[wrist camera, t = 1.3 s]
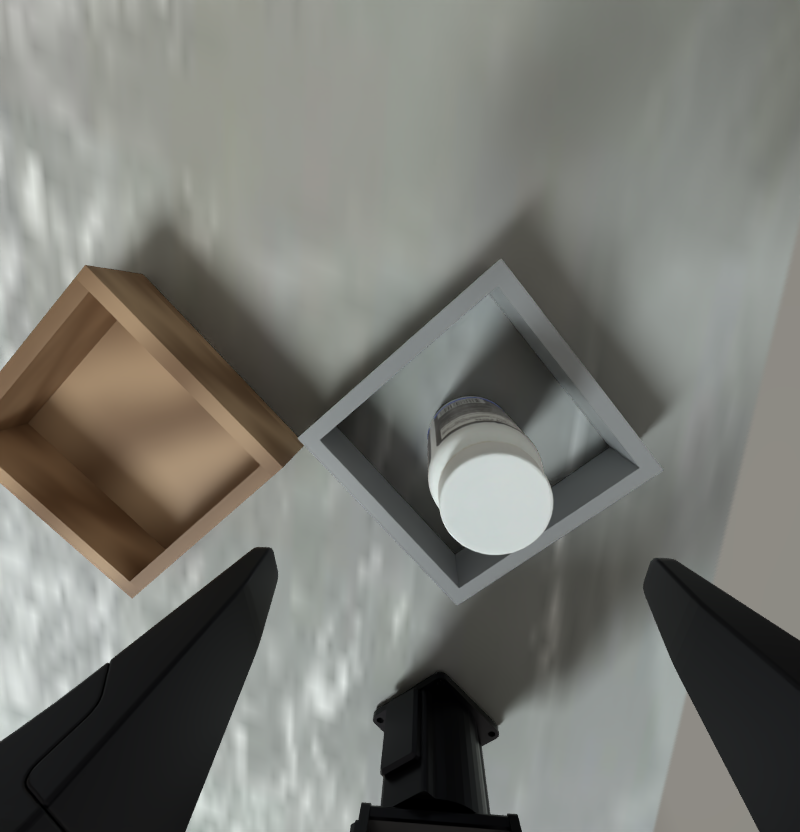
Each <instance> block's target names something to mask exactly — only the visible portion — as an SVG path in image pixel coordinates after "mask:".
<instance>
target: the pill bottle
mask: <svg viewBox="0 0 800 832" xmlns="http://www.w3.org/2000/svg"><path fill="white" fill-rule="evenodd" d="M427 445H428V483H429V488H430V492H431V494H432V497H433V499H434V501H435V503H436V505H437V506H438V508H439V509H440V515H441V518H442V521H443V523H444V525H445V527H446V529H447V530H448V532H449V533H450V535H451V536H452V537H453V538H454V539H455V540H456V541H458V542H459V543H460V544H462V545H463V546H465V547H467V548H468V549H471V550H473V551H475V552H479V553H482V554H489V555H502V554H509V553H513V552H516V551H518V550H521V549H523V548H525V547H527V546H528V545H530V544H531V543H532V542H534V541H535V540H536V539H537V538H538V537H539V536H540V535H541V534H542V533H543V532H544V530H545V529H546V527H547V525H548V523H549V521H550V519H551V516H552V511H553V493H552V489H551V485H550V483H549V481H548V479H547V477H546V476H545V474H544V469H543V464H542V461H541V457H540V455H539V453H538V450H537V449H536V447H535V445H534V444H533V443H532V442H531V440H530V439H529V438H528V437H527V436H526V435H525V434H524V433H523V432H522V431H521V430H520V428H519V427H518V426H517V425H516V424H515V423H514V421H513V420H512V419H511V418H510V417H509V416H508V415H507V414H506V413H505V412H504V410H503V409H502V408H501V407H499V406H498V405H497V404H496V403H494V402H492V401H490V400H488V399H485V398H482V397H476V396H466V397H460V398H457V399H454V400H452V401H450V402H448V403H447V404H445V405H444V406H443V407H442V408H441V409H440V410H439V411H438V412H437V413H436V414H435V416H434V418H433V419H432V421H431V423H430V426H429V430H428V438H427Z"/></svg>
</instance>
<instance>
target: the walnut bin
mask: <svg viewBox="0 0 800 832" xmlns="http://www.w3.org/2000/svg"><path fill="white" fill-rule="evenodd" d="M297 438H298V437H297V436H296V435H295V433H294V432H293V431H292V430H291V429H290V428H289V427H288V426H287V425H286V424H285V423H284V422H283V421H282V420H281V419H280V418H279V417H278V416H277V415H276V414H275V412H274V411H273V410H272V409H271V408H270V407H269V406H268V405H267V404H266V403H265V402H264V401H263V400H262V399H261V398H260V397H259V396H258V395H257V394H256V393H255V391H254V390H253V389H252V388H251V387H250V386H249V385H248V384H247V383H246V382H245V381H244V380H243V379H242V378H241V377H240V376H239V375H238V374H237V373H236V372H235V370H234V369H233V368H232V367H231V366H230V365H229V364H228V363H227V362H226V361H225V360H224V359H223V358H222V357H221V356H220V355H219V354H218V353H217V352H216V351H215V349H214V348H213V347H212V346H211V345H210V344H209V343H208V342H207V341H206V340H205V339H204V338H203V337H202V336H201V335H200V334H199V333H198V332H197V331H196V330H195V328H194V327H193V326H192V325H191V324H190V323H189V322H188V321H187V320H186V319H185V318H184V317H183V316H182V315H181V314H180V313H179V312H178V311H177V310H176V309H175V307H174V306H173V305H172V304H171V303H170V302H169V301H168V300H167V299H166V298H165V297H164V296H163V295H162V294H161V293H160V292H159V291H158V290H157V289H156V288H155V286H154V285H153V284H152V283H151V282H150V281H149V280H148V279H147V278H146V277H145V276H144V275H143V274H138V273H132V272H126V271H119V270H113V269H107V268H100V267H94V266H88V265H85V266H84V267H83V269H82V270H81V271H80V272H79V274H78V275H77V276H76V277H75V279H74V280H73V281H72V282H71V284H70V285H69V286H68V287H67V289H66V290H65V291H64V292H63V294H62V295H61V296H60V297H59V299H58V300H57V301H56V302H55V304H54V305H53V306H52V307H51V309H50V310H49V311H48V312H47V314H46V315H45V316H44V317H43V319H42V320H41V321H40V322H39V324H38V325H37V326H36V327H35V329H34V330H33V331H32V332H31V334H30V335H29V336H28V337H27V339H26V340H25V341H24V342H23V344H22V345H21V346H20V347H19V349H18V350H17V351H16V352H15V354H14V355H13V356H12V357H11V359H10V360H9V361H8V362H7V364H6V365H5V366H4V367H3V369H2V370H1V371H0V483H1V484H2V485H3V486H4V487H5V488H7V489H8V490H9V491H10V492H11V493H12V494H13V495H15V496H16V497H17V498H18V499H19V500H20V501H21V502H23V503H24V504H25V505H26V506H27V507H28V508H29V509H31V510H32V511H33V512H34V513H35V514H36V515H37V516H39V517H40V518H41V519H42V520H43V521H44V522H45V523H47V524H48V525H49V526H50V527H51V528H52V529H53V530H55V531H56V532H57V533H58V534H59V535H60V536H61V537H63V538H64V539H65V540H66V541H67V542H68V543H69V544H71V545H72V546H73V547H74V548H75V549H76V550H77V551H79V552H80V553H81V554H82V555H83V556H84V557H85V558H87V559H88V560H89V561H90V562H91V563H92V564H93V565H95V566H96V567H97V568H98V569H99V570H100V571H101V572H102V573H104V574H105V575H106V576H107V577H108V578H109V579H110V580H112V581H113V582H114V583H115V584H116V585H117V586H118V587H120V588H121V589H122V590H123V591H124V592H125V593H126V594H128V595H129V596H130V597H131V598H133V597H134V596H136V595H137V594H138V593H139V592H140V591H141V590H142V589H144V588H145V587H146V586H147V585H148V584H149V583H151V582H152V581H153V580H154V579H155V578H156V577H157V576H159V575H160V574H161V573H162V572H163V571H164V570H165V569H167V568H168V567H169V566H170V565H171V564H172V563H174V562H175V561H176V560H177V559H178V558H179V557H180V556H182V555H183V554H184V553H185V552H186V551H187V550H188V549H190V548H191V547H192V546H193V545H194V544H195V543H197V542H198V541H199V540H200V539H201V538H202V537H203V536H205V535H206V534H207V533H208V532H209V531H210V530H211V529H213V528H214V527H215V526H216V525H217V524H218V523H220V522H221V521H222V520H223V519H224V518H225V517H226V516H228V515H229V514H230V513H231V512H232V511H233V510H234V509H236V508H237V507H238V506H239V505H240V504H241V503H243V502H244V501H245V500H246V499H247V498H248V497H249V496H251V495H252V494H253V493H254V492H255V491H256V490H257V489H259V488H260V487H261V486H262V485H263V484H264V483H265V482H267V481H268V480H269V479H270V478H271V477H272V476H274V475H275V474H276V473H277V472H278V471H279V470H280V469H282V468H283V467H284V466H285V465H286V464H287V463H288V462H289V461H290V460H291V458H292V457H293V456H294V455H295V454H296V453H297V452H298V451H299V450H300V449H301V448H302V447H303V446H304V445H303V444H302V443H301V442H300V441H299V440H298V439H297Z"/></svg>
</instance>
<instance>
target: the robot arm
mask: <svg viewBox="0 0 800 832" xmlns="http://www.w3.org/2000/svg"><path fill="white" fill-rule="evenodd" d="M277 580H278V570H277V565H276V561H275V556H274V552H273V550H272V548H269V547H256V548H254V549H252V550H251V551H249V552H248V553H247V554H246V555H244V556H243V557H242V558H240V559H239V560H238V561H237V562H235V563H234V564H233V565H232V566H230V567H229V568H228V569H226V570H225V571H224V572H223V573H221V574H220V575H219V576H217V577H216V578H215V579H214V580H212V581H211V582H210V583H209V584H207V585H206V586H205V587H203V588H202V589H201V590H200V591H198V592H197V593H196V594H194V595H193V596H192V597H191V598H189V599H188V600H187V601H186V602H184V603H183V604H182V605H180V606H179V607H178V608H177V609H175V610H174V611H173V612H171V613H170V614H169V615H168V616H166V617H165V618H164V619H162V620H161V621H160V622H159V623H157V624H156V625H155V626H154V627H152V628H151V629H150V630H148V631H147V632H146V633H145V634H143V635H142V636H141V637H139V638H138V639H137V640H136V641H134V642H133V643H132V644H131V645H129V646H128V647H127V648H125V649H124V650H123V651H122V652H120V653H119V654H118V655H116V656H115V657H114V658H113V659H111V661H110V663H106V664H105V665H103V666H102V667H101V668H100V669H98V670H97V671H96V672H95V673H93V674H92V675H91V676H89V677H88V678H87V679H86V680H84V681H83V682H82V683H80V684H79V685H78V686H76V687H75V688H74V689H72V690H71V691H70V692H68V693H67V694H66V695H64V696H63V697H62V698H60V699H59V700H58V701H57V702H55V703H54V704H52V705H51V706H50V707H48V708H47V709H45V710H44V711H43V712H41V713H40V714H38V715H37V716H36V717H34V718H33V719H32V720H30V721H29V722H27V723H26V724H25V725H23V726H22V727H20V728H19V729H18V730H16V731H15V732H13V733H12V734H10V735H9V736H8V737H6V738H5V739H3V740H2V741H0V832H185V831H186V829H187V826H188V824H189V821H190V818H191V816H192V813H193V811H194V808H195V806H196V803H197V801H198V798H199V796H200V793H201V791H202V788H203V786H204V783H205V781H206V778H207V776H208V773H209V771H210V768H211V765H212V763H213V760H214V758H215V755H216V753H217V750H218V748H219V745H220V743H221V740H222V738H223V735H224V733H225V730H226V728H227V725H228V723H229V720H230V718H231V715H232V712H233V710H234V707H235V705H236V702H237V700H238V697H239V695H240V692H241V690H242V687H243V685H244V682H245V680H246V677H247V675H248V672H249V670H250V667H251V664H252V662H253V659H254V657H255V654H256V652H257V649H258V646H259V643H260V640H261V637H262V633H263V630H264V626H265V623H266V619H267V616H268V612H269V609H270V605H271V602H272V598H273V595H274V591H275V588H276V584H277ZM643 589H644V594H645V597H646V599H647V602H648V604H649V606H650V609H651V611H652V614H653V616H654V619H655V621H656V624H657V626H658V629H659V631H660V634H661V636H662V639H663V641H664V644H665V646H666V648H667V651H668V653H669V656H670V658H671V660H672V662H673V665H674V667H675V669H676V671H677V673H678V675H679V677H680V679H681V681H682V683H683V685H684V687H685V688H686V690H687V692H688V694H689V696H690V698H691V700H692V702H693V704H694V706H695V708H696V710H697V711H698V714H699V716H700V717H701V719H702V721H703V723H704V725H705V727H706V729H707V731H708V733H709V735H710V737H711V739H712V741H713V743H714V745H715V747H716V748H717V750H718V752H719V754H720V756H721V758H722V760H723V762H724V764H725V766H726V768H727V770H728V772H729V774H730V775H731V777H732V779H733V781H734V783H735V785H736V787H737V789H738V791H739V793H740V795H741V797H742V799H743V800H744V803H745V805H746V806H747V808H748V810H749V812H750V814H751V816H752V818H753V820H754V822H755V824H756V826H757V828H758V830H759V831H760V832H800V640H798V639H797V638H795V637H793V636H792V635H790V634H789V633H787V632H786V631H784V630H782V629H781V628H779V627H778V626H776V625H775V624H773V623H772V622H770V621H769V620H767V619H766V618H764V617H763V616H761V615H760V614H758V613H756V612H755V611H753V610H752V609H750V608H749V607H747V606H746V605H744V604H743V603H741V602H739V601H738V600H736V599H735V598H733V597H732V596H730V595H729V594H727V593H726V592H724V591H722V590H721V589H719V588H718V587H716V586H715V585H713V584H712V583H710V582H709V581H707V580H706V579H704V578H702V577H701V576H699V575H698V574H696V573H695V572H693V571H692V570H690V569H689V568H687V567H685V566H684V565H682V564H681V563H679V562H678V561H676V560H674V559H670V558H654V559H653V560H652V561H651V562H650V565H649V568H648V571H647V574H646V577H645V580H644V584H643ZM373 722H374V723H375V724H376V725H377V726H378V727H379V728H380V729H381V730H382V731H383V732H384V740H383V750H382V759H381V770H380V773H381V775H382V776H383V787H382V798H381V806H373V805H371V803H363V802H362V804H361V809H360V814H359V820H356V821H355V823H353V824H351V828H350V832H522V830H521V826H520V822H519V818H518V815H517V814H508V813H507V816H504V815H491V814H490V808H489V800H488V792H487V785H486V777H485V769H484V761H483V754H482V746H483V745H485V744H487V743H489V742H491V741H493V740H494V739H496V738H497V737H498V736H499V731H498V726H497V725H496V724H495V723H494V722H493V721H492V720H491V719H490V718H489V717H488V716H487V715H486V714H485V713H484V712H483V711H482V710H481V709H480V708H479V707H478V706H477V705H476V704H475V703H474V702H473V701H472V700H471V699H470V698H469V697H468V696H467V695H466V694H465V693H464V692H463V691H462V690H461V689H460V688H459V687H458V686H457V685H456V684H455V683H454V682H453V681H452V680H451V679H450V678H449V677H448V676H447V675H446V674H445V673H442V672H438V673H436V674H434V675H433V676H431V677H429V678H428V679H426V680H424V681H423V682H421V683H420V684H418V685H416V686H415V687H413V688H411V689H410V690H408V691H406V692H405V693H403V694H402V695H400V696H398V697H397V698H395V699H393V700H392V701H390V702H389V703H387V704H385V705H384V706H382V707H380V708H379V709H377V710H376V711H375V712H374V716H373Z"/></svg>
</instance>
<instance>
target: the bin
mask: <svg viewBox="0 0 800 832" xmlns="http://www.w3.org/2000/svg"><path fill="white" fill-rule="evenodd" d="M488 294H490V296H491V297H492V298H493V300H494V301H495V302H496V303H497V305H498V306H499V307H500V308H501V310H502V311H503V312H504V313H505V315H506V316H507V317H508V319H509V320H510V321H511V322H512V324H513V325H514V326H515V327H516V329H517V330H518V331H519V333H520V334H521V335H522V336H523V338H524V339H525V340H526V341H527V343H528V344H529V345H530V346H531V348H532V349H533V350H534V352H535V353H536V354H537V355H538V357H539V358H540V359H541V360H542V362H543V363H544V364H545V365H546V367H547V368H548V369H549V371H550V372H551V373H552V374H553V376H554V377H555V378H556V379H557V381H558V382H559V383H560V384H561V386H562V387H563V388H564V390H565V391H566V392H567V393H568V395H569V396H570V397H571V398H572V400H573V401H574V402H575V404H576V405H577V406H578V407H579V409H580V410H581V411H582V412H583V414H584V415H585V416H586V417H587V419H588V420H589V421H590V423H591V424H592V425H593V426H594V428H595V429H596V430H597V431H598V433H599V434H600V435H601V436H602V438H603V439H604V440H605V442H606V443H607V444H608V445H609V448H608V449H606V450H605V451H604V452H602V453H601V454H599V455H598V456H596V457H595V458H593V459H592V460H591V461H589V462H588V463H586V464H585V465H583V466H582V467H580V468H579V469H578V470H576V471H575V472H573V473H572V474H570V475H569V476H567V477H566V478H565V479H563V480H562V481H560V482H559V483H557V484H556V485H555V486H553V487H552V488H551V489H552V493H553V511H552V516H551V519H550V521H549V523H548V525H547V527H546V529H545V530H544V532H543V533H542V534H541V535H540V536H539V537H538V538H537V539H536V540H535V541H534V542H532V543H531V544H530V545H528V546H527V547H525V548H523V549H521V550H518V551H516V552H513V553H509V554H502V555H489V554H482V553H479V552H475V551H473V550H471V549H468V548H467V547H465V548H464V549H462V550H461V551H459V552H458V553H457V554H454V553H453V552H452V551H451V550H450V549H449V547H448V546H447V545H446V544H445V543H444V542H443V541H442V540H441V539H440V538H439V537H438V536H437V535H436V533H435V532H434V531H433V530H432V529H431V528H430V527H429V526H428V525H427V524H426V523H425V522H424V521H423V519H422V518H421V517H420V516H419V515H418V514H417V513H416V512H415V511H414V510H413V509H412V508H411V506H410V505H409V504H408V503H407V502H406V501H405V500H404V499H403V498H402V497H401V496H400V495H399V494H398V492H397V491H396V490H395V489H394V488H393V487H392V486H391V485H390V484H389V483H388V482H387V481H386V479H385V478H384V477H383V476H382V475H381V474H380V473H379V472H378V471H377V470H376V469H375V468H374V467H373V465H372V464H371V463H370V462H369V461H368V460H367V459H366V458H365V457H364V456H363V455H362V454H361V453H360V451H359V450H358V449H357V448H356V447H355V446H354V445H353V444H352V443H351V442H350V441H349V440H348V438H347V437H346V436H345V435H344V434H343V433H342V432H341V431H340V430H339V429H338V428H337V427H336V426H337V425H338V424H339V423H340V422H341V421H342V420H343V419H345V418H346V417H347V416H348V415H349V414H350V413H352V412H353V411H354V410H355V409H356V408H357V407H358V406H360V405H361V404H362V403H363V402H364V401H365V400H367V399H368V398H369V397H370V396H371V395H372V394H374V393H375V392H376V391H377V390H378V389H379V388H380V387H382V386H383V385H384V384H385V383H386V382H387V381H389V380H390V379H391V378H392V377H393V376H394V375H395V374H397V373H398V372H399V371H400V370H401V369H402V368H404V367H405V366H406V365H407V364H408V363H409V362H410V361H412V360H413V359H414V358H415V357H416V356H417V355H419V354H420V353H421V352H422V351H423V350H424V349H425V348H427V347H428V346H429V345H430V344H431V343H432V342H434V341H435V340H436V339H437V338H438V337H439V336H440V335H442V334H443V333H444V332H445V331H446V330H447V329H449V328H450V327H451V326H452V325H453V324H454V323H456V322H457V321H458V320H459V319H460V318H461V317H462V316H464V315H465V314H466V313H467V312H468V311H469V310H471V309H472V308H473V307H474V306H475V305H476V304H477V303H479V302H480V301H481V300H482V299H483V298H484V297H486V296H487V295H488ZM297 439H298V440H299V441H300V442H301V443H302V444H303V445H304V446H305V447H306V448H307V449H308V450H309V451H310V452H311V453H312V454H313V455H314V456H315V457H316V458H317V460H318V461H319V462H320V463H321V464H322V465H323V466H324V467H325V468H326V469H327V470H328V471H329V472H330V473H331V474H332V475H333V476H334V477H335V478H336V479H337V481H338V482H339V483H340V484H341V485H342V486H343V487H344V488H345V489H346V490H347V491H348V492H349V493H350V494H351V495H352V496H353V497H354V498H355V499H356V500H357V501H358V503H359V504H360V505H361V506H362V507H363V508H364V509H365V510H366V511H367V512H368V513H369V514H370V515H371V516H372V517H373V518H374V519H375V520H376V521H377V522H378V524H379V525H380V526H381V527H382V528H383V529H384V530H385V531H386V532H387V533H388V534H389V535H390V536H391V537H392V538H393V539H394V540H395V541H396V542H397V543H398V544H399V546H400V547H401V548H402V549H403V550H404V551H405V552H406V553H407V554H408V555H409V556H410V557H411V558H412V559H413V560H414V561H415V562H416V563H417V564H418V565H419V567H420V568H421V569H422V570H423V571H424V572H425V573H426V574H427V575H428V576H429V577H430V578H431V579H432V580H433V581H434V582H435V583H436V584H437V585H438V586H439V587H440V589H441V590H442V591H443V592H444V593H445V594H446V595H447V596H448V597H449V598H450V599H451V600H452V601H453V602H454V603H455V604H456V605H459V604H460V603H462V602H464V601H465V600H467V599H468V598H470V597H471V596H473V595H474V594H476V593H477V592H479V591H480V590H482V589H483V588H485V587H486V586H488V585H489V584H491V583H493V582H494V581H496V580H497V579H499V578H500V577H502V576H503V575H505V574H506V573H508V572H509V571H511V570H512V569H514V568H515V567H517V566H518V565H520V564H522V563H523V562H525V561H526V560H528V559H529V558H531V557H532V556H534V555H535V554H537V553H538V552H540V551H541V550H543V549H544V548H546V547H547V546H549V545H551V544H552V543H554V542H555V541H557V540H558V539H560V538H561V537H563V536H564V535H566V534H567V533H569V532H570V531H572V530H573V529H575V528H576V527H578V526H580V525H581V524H583V523H584V522H586V521H587V520H589V519H590V518H592V517H593V516H595V515H596V514H598V513H599V512H601V511H602V510H604V509H606V508H607V507H609V506H610V505H612V504H613V503H615V502H616V501H618V500H619V499H621V498H622V497H624V496H625V495H627V494H628V493H630V492H631V491H633V490H635V489H636V488H638V487H639V486H641V485H642V484H644V483H645V482H647V481H648V480H650V479H651V478H653V477H654V476H656V475H657V474H659V473H660V472H662V471H664V469H663V468H662V467H661V465H660V464H659V463H658V461H657V460H656V459H655V457H654V456H653V455H652V454H651V452H650V451H649V450H648V448H647V447H646V446H645V444H644V443H643V442H642V441H641V439H640V438H639V437H638V435H637V434H636V433H635V431H634V430H633V429H632V428H631V426H630V425H629V424H628V422H627V421H626V420H625V418H624V417H623V416H622V415H621V413H620V412H619V411H618V409H617V408H616V407H615V405H614V404H613V403H612V401H611V400H610V399H609V398H608V396H607V395H606V394H605V392H604V391H603V390H602V388H601V387H600V386H599V385H598V383H597V382H596V381H595V379H594V378H593V377H592V375H591V374H590V373H589V372H588V370H587V369H586V368H585V366H584V365H583V364H582V362H581V361H580V360H579V359H578V357H577V356H576V355H575V353H574V352H573V351H572V349H571V348H570V347H569V346H568V344H567V343H566V342H565V340H564V339H563V338H562V336H561V335H560V334H559V333H558V331H557V330H556V329H555V327H554V326H553V325H552V323H551V322H550V321H549V320H548V318H547V317H546V316H545V314H544V313H543V312H542V310H541V309H540V308H539V307H538V305H537V304H536V303H535V301H534V300H533V299H532V297H531V296H530V295H529V294H528V292H527V291H526V290H525V288H524V287H523V286H522V284H521V283H520V282H519V281H518V279H517V278H516V277H515V275H514V274H513V273H512V271H511V270H510V269H509V268H508V266H507V265H506V264H505V262H504V261H503V260H502V258H501V259H499V260H498V261H497V262H496V263H495V264H493V265H492V266H491V267H490V268H489V269H487V270H486V271H485V272H484V273H483V274H482V275H481V276H480V277H478V278H477V279H476V280H475V281H474V282H473V283H472V284H470V285H469V286H468V287H467V288H466V289H465V290H464V291H463V292H461V293H460V294H459V295H458V296H457V297H456V298H455V299H453V300H452V301H451V302H450V303H449V304H448V305H447V306H446V307H444V308H443V309H442V310H441V311H440V312H439V313H438V314H437V315H435V316H434V317H433V318H432V319H431V320H430V321H429V322H427V323H426V324H425V325H424V326H423V327H422V328H421V329H420V330H418V331H417V332H416V333H415V334H414V335H413V336H412V337H411V338H409V339H408V340H407V341H406V342H405V343H404V344H403V345H401V346H400V347H399V348H398V349H397V350H396V351H395V352H394V353H392V354H391V355H390V356H389V357H388V358H387V359H386V360H385V361H383V362H382V363H381V364H380V365H379V366H378V367H377V368H375V369H374V370H373V371H372V372H371V373H370V374H369V375H368V376H366V377H365V378H364V379H363V380H362V381H361V382H360V383H358V384H357V385H356V386H355V387H354V388H353V389H352V390H351V391H349V392H348V393H347V394H346V395H345V396H344V397H343V398H342V399H340V400H339V401H338V402H337V403H336V404H335V405H334V406H332V407H331V408H330V409H329V410H328V411H327V412H326V413H325V414H323V415H322V416H321V417H320V418H319V419H318V420H317V421H316V422H314V423H313V424H312V425H311V426H310V427H309V428H308V429H307V430H306V431H305V432H304V433H302V434H301V435H300V436H299V437H298V438H297Z"/></svg>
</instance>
